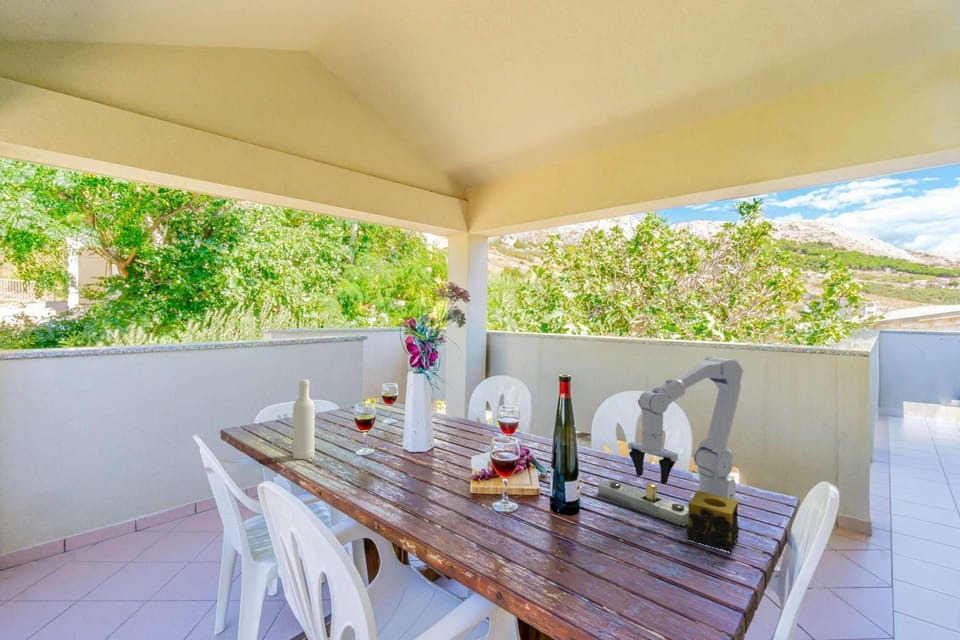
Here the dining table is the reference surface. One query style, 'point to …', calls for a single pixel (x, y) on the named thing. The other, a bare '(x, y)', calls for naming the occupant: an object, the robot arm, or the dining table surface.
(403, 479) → the dining table surface
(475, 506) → the dining table surface
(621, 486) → the bolted metal base plate
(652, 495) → the pin
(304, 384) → the bottle
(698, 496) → the yellow block with hole
